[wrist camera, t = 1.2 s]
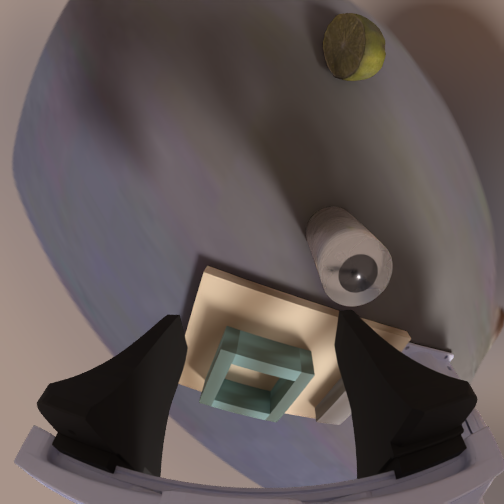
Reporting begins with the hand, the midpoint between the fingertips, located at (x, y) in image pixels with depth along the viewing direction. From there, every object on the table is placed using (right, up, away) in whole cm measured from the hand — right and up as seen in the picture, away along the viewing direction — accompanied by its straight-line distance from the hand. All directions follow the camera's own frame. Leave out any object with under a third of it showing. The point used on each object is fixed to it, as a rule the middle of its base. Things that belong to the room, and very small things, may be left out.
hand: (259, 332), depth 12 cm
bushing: (+6, +5, +8) cm, 11 cm away
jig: (+3, -7, +13) cm, 15 cm away
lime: (+6, +18, +3) cm, 19 cm away
